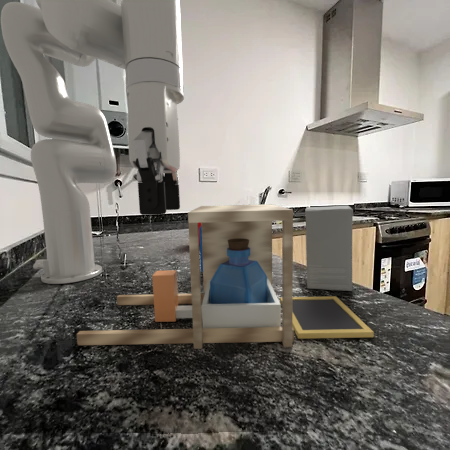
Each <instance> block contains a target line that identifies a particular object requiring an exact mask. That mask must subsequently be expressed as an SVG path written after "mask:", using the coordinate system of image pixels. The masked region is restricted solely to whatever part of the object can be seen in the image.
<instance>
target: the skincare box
mask: <svg viewBox="0 0 450 450" xmlns="http://www.w3.org/2000/svg"><path fill="white" fill-rule="evenodd" d="M353 215H354V209H353V208H352V207H351V206H349V205H336V206H335V205H334V206H333V205H332V206H311V207H310V206H307V207H306V208H305V251H306V255H305V256H306V259H305V261H306V288H307V289H309V290H310V289H311V290H312V289H313V290H327V291H328V290H329V291H330V290H332V291H346V292H347V291H348V292H351V291H352V290H353V218H354V216H353ZM352 292H353V291H352Z"/></svg>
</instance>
